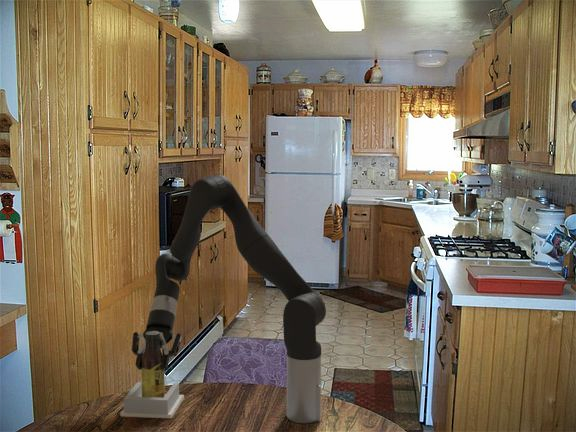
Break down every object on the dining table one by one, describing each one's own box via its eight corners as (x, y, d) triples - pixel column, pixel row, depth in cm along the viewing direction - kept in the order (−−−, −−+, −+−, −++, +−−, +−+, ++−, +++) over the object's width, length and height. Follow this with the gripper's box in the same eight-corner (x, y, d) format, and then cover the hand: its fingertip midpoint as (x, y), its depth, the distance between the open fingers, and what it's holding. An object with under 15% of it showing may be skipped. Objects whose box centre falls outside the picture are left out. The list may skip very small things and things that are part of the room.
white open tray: (184, 398, 169) (183, 381, 168) (171, 418, 156) (171, 400, 156) (136, 396, 170) (136, 379, 170) (120, 416, 157) (119, 398, 157)
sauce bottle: (159, 408, 159) (157, 337, 157) (138, 406, 161) (135, 336, 158) (168, 398, 166) (167, 330, 163) (148, 396, 167) (146, 328, 165)
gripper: (135, 307, 168) (121, 362, 158) (184, 308, 167) (173, 364, 157) (141, 320, 174) (128, 373, 164) (189, 321, 173) (179, 375, 163)
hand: (150, 368), depth 160 cm, fingers closed on sauce bottle, 6 cm apart
